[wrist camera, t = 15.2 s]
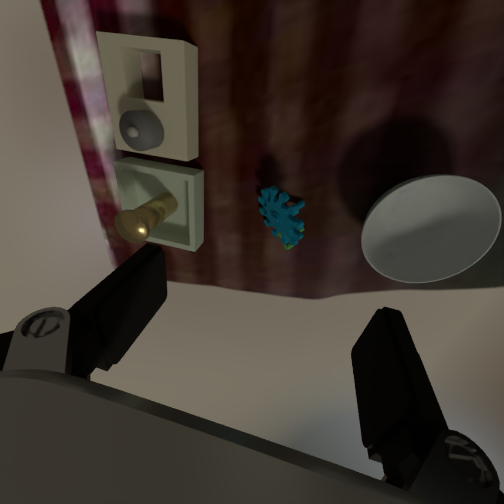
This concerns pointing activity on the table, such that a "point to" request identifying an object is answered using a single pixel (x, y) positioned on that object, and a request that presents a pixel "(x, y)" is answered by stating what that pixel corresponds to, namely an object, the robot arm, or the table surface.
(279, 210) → the teal lobed piece
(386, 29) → the table surface
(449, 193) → the chinaware
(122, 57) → the beige boxy piece
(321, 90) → the table surface
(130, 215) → the pin
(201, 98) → the table surface
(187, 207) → the tray
